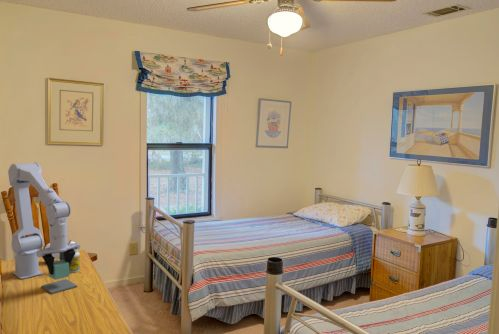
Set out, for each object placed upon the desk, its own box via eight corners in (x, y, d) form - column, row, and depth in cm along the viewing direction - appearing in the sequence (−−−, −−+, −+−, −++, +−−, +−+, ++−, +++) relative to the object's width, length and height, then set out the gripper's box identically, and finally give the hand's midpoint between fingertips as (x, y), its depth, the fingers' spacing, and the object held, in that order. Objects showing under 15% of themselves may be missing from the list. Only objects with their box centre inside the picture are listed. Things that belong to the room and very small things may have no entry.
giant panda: (41, 265, 167) (41, 243, 166) (45, 261, 172) (44, 239, 171) (79, 263, 171) (78, 241, 170) (81, 259, 176) (80, 238, 175)
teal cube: (49, 276, 144) (49, 262, 144) (63, 272, 148) (62, 259, 147) (55, 279, 141) (54, 266, 140) (69, 276, 145) (69, 263, 144)
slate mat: (41, 287, 144) (41, 285, 144) (66, 280, 151) (66, 278, 151) (51, 294, 138) (51, 292, 138) (77, 287, 145) (77, 285, 145)
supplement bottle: (78, 267, 165) (78, 245, 164) (81, 271, 161) (81, 248, 160) (64, 269, 162) (64, 247, 161) (66, 274, 158) (66, 250, 157)
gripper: (42, 241, 135) (42, 280, 136) (83, 234, 146) (83, 269, 147) (33, 237, 139) (34, 274, 141) (74, 230, 150) (74, 265, 152)
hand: (59, 272), depth 144 cm, fingers closed on teal cube, 5 cm apart
